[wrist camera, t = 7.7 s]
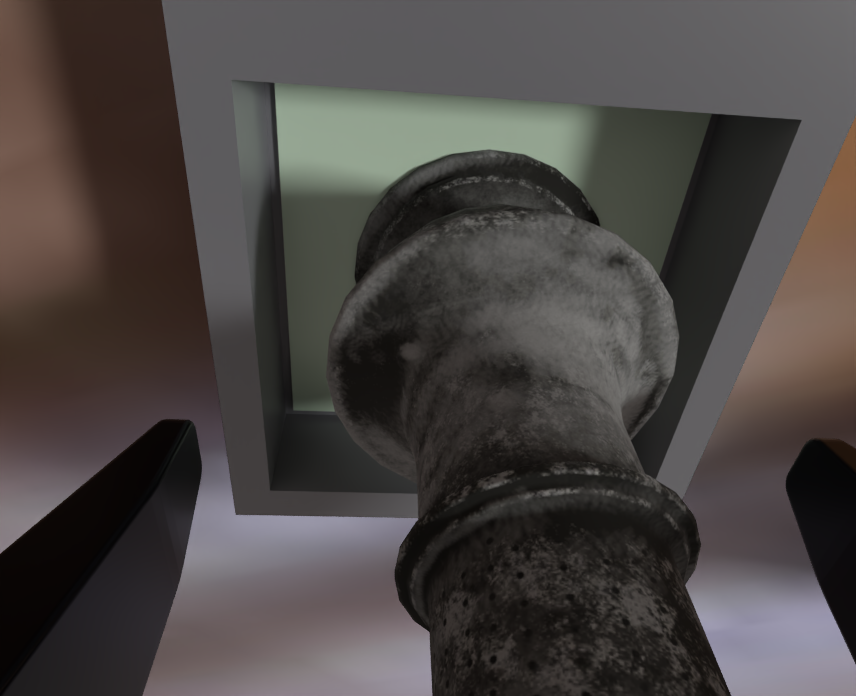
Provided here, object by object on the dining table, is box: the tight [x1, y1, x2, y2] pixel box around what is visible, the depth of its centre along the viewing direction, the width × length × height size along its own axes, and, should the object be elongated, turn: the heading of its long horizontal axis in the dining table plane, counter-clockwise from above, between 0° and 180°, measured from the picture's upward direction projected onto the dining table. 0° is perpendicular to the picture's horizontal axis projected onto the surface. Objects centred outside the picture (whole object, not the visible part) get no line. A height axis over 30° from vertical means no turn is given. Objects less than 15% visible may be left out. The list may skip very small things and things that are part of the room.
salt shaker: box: [326, 149, 731, 696], centre depth 9 cm, size 6×6×12 cm
